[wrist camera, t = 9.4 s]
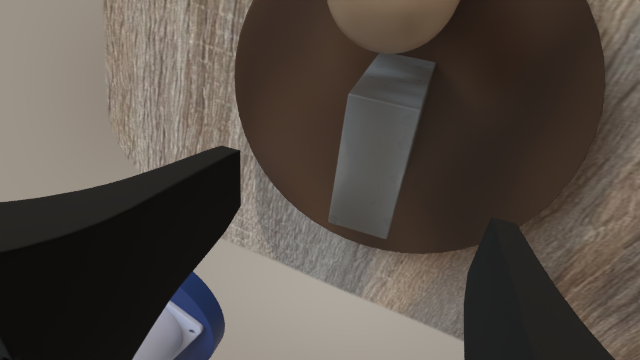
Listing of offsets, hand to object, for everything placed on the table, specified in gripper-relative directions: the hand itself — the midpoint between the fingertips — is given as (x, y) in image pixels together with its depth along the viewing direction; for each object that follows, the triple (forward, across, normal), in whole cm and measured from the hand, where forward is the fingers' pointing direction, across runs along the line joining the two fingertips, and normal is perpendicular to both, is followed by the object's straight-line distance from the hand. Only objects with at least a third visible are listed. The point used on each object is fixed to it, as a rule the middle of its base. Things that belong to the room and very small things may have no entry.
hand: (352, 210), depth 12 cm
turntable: (+8, 0, 0) cm, 8 cm away
